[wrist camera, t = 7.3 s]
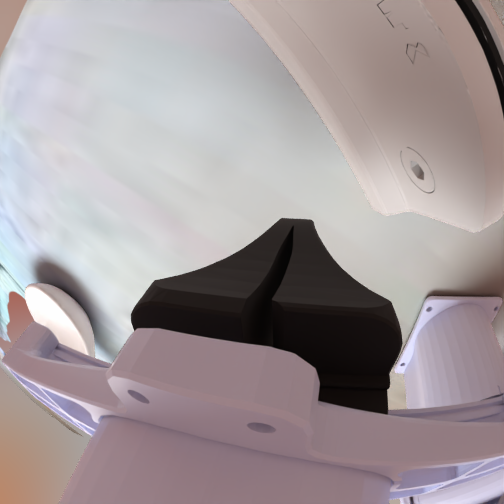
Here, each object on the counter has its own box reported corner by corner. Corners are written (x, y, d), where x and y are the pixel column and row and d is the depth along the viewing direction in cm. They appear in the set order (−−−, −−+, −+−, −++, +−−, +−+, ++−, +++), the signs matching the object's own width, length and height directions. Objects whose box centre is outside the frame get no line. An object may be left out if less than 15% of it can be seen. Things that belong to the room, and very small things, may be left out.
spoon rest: (29, 276, 30) (-2, 309, 24) (64, 260, 25) (22, 303, 19) (123, 387, 40) (105, 419, 34) (174, 394, 36) (156, 435, 30)
